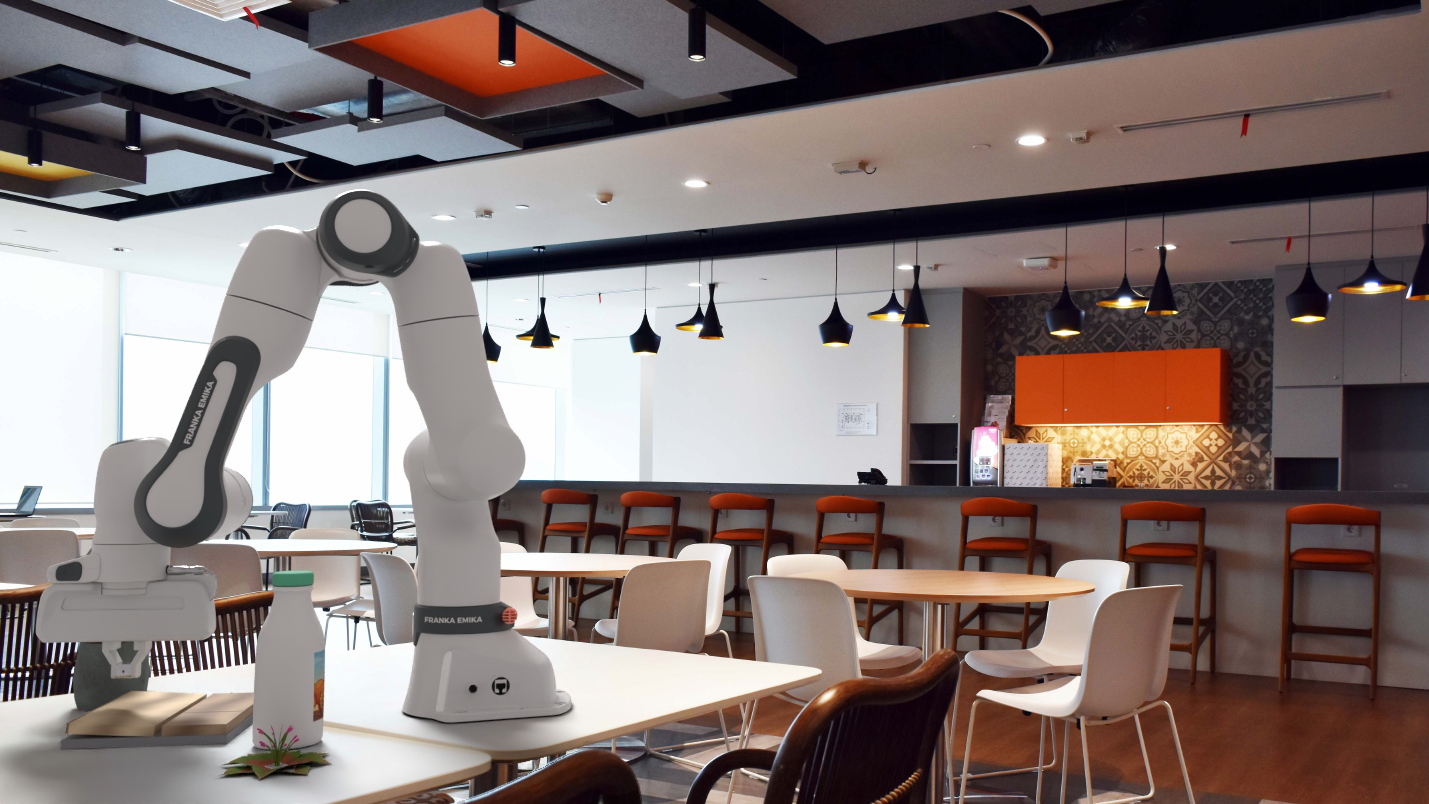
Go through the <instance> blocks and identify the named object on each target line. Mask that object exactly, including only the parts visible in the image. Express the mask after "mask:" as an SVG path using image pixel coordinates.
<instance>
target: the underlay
mask: <svg viewBox="0 0 1429 804" xmlns="http://www.w3.org/2000/svg"><path fill="white" fill-rule="evenodd" d="M250 725H253V714H251V715H250V716H249V717H248V718H246V719H245V720H244V721H243V722H241V723H240V724H239V725H237V726H236V727H235V728H234V729H232V730H231V731H230V732H228V733H227V734H223V735H192V736H162V737H161V735H162V731H161V732H160V733H158V734H157V735H155V736H154V737H144V736H114V735H83V734H69V735H68V736H66V737H64V738H63V739H61V740H60V750H71V749H72V750H73V749H74V750H75V749H78V750H79V749H103V748H104V749H105V748H129V747H130V748H131V747H133V748H134V747H135V748H136V747H158V746H159V747H161V746H163V747H164V746H186V745H187V746H188V745H189V746H191V745H193V746H195V745H196V746H197V745H216V744H217V745H221V744H222V745H223V744H228V743H230V742H231V741H232V740H233V739H234V738H236V737H237V736H238V735H239V734H240V733H242V732H244V731H245V729H246V728H248V727H249V726H250Z"/></svg>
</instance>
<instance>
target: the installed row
mask: <svg viewBox="0 0 1429 804" xmlns="http://www.w3.org/2000/svg"><path fill="white" fill-rule="evenodd" d="M253 702H254V691H253V692H224V693H223V692H221V693H219V692H218V693H212V694H210V695H209V696H207V698H206V699H204V700H202V701H201V702H199V703H198V704H196V705H194V706H193V707H191V708H190V709H188V710H186V711H185V712H183V713H182V714H180V715H179V716H177V717H175V718H174V719H172V720H171V721H169V722H167V723H166V724H164V725H163V726H162V735H161V737H162V736H192V735H223V734H227V733H228V732H230V731H231V730H232V729H234V728H235V727H236V726H237V725H239V724H240V723H241V722H243V721H244V720H245V719H246V718H248V717H249V716H250V715H251V714H253Z"/></svg>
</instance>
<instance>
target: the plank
mask: <svg viewBox="0 0 1429 804" xmlns="http://www.w3.org/2000/svg"><path fill="white" fill-rule="evenodd" d="M207 697H208V693H199V692H195V693H193V692H173V691H172V692H170V691H148V690H147V691H130V692H128V693H126V694H124V695H122V696H120V697H118V698H116V699H114V700H112V701H110V702H108V703H106V704H104V705H102V706H100V707H98V708H96V709H94V710H92V711H90V712H86V713H85V714H81V715H80V716H78V717H76V718H75V719H73V720H70V721H68V722H67V723H66V724H65V733H64V735H72V734H83V735H114V736H144V737H154V736H155V735H157V734H158V733H160V732H161V731H162V726H163V725H164V724H166V723H167V722H169V721H171V720H172V719H174V718H175V717H177V716H179V715H180V714H182V713H183V712H185V711H186V710H188V709H190V708H191V707H193V706H194V705H196V704H198V703H199V702H201V701H202V700H204V699H206V698H207Z"/></svg>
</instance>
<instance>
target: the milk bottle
mask: <svg viewBox="0 0 1429 804" xmlns="http://www.w3.org/2000/svg"><path fill="white" fill-rule="evenodd" d="M314 575H315V574H314V572H313V571H311V570H280V571H275V572H273V573H272V576H271V577H272V578H271V584H272V588H271V590H272V592H273V600H272V604H271V605H270V608H269V612H268V614H267V616H266V618H265V620H264V622H263V624H262V626H261V628H260V631H259V634H258V636H257V640H256V646H255V647H256V648H255V659H254V660H255V661H254V681H253V685H254V686H253V692H254V702H253V723H252V733H251V734H252V736H251V737H252V744H253V746H254V747H255V748H257V749H262V750H269V749H268V748H267V747H262V746H260V745H261V744H260V743H259V741H262V742H264V743H265V744H266V745H268V746H269V747H270V748H271V749H272V748H273V747H271V744H272V742H271V743H270V741H269V739H268V738H267V737H266V736H265V735H264V734H260V733H258V732H259V730H257V728H259V729H261V730H262V731H263V732H265V733H266V734H267V735H268V736H269V737H270V738H271V739H272V740H273V742H274V736H273V735H272V733H273V731H274V734H275V739H276V743H277V750H278V746H279V739H280V741H281V739H282V737H283V735H284V734H285V733H286V731H287V729H288V728H289V727H290V726H291V725H292V726H291V727H292V728H293V730H292V731H290V732H289V733H288V735H287V737H286V740H285V742H284V744H286V743H287V746H288V744H289V743H290V741H291V740H292V739H293V738H294V737H295V736H296V735H297V738H299V741H297V742H295V743H294V744H293V745H292V746H291V747H290V749H289V750H292V749H293V750H294V749H301V748H305V747H309V746H313V745H316V744H318V743H319V742H321V741H322V738H323V735H324V717H325V716H324V714H325V710H324V709H325V678H326V676H325V672H326V671H325V670H326V668H325V667H326V646H325V645H326V643H325V635H324V634H325V633H324V630H323V627H322V624H321V621H320V620H319V617H318V614H317V612H316V610H315V608H314V604H313V600H312V591H313V590H314V581H315V576H314ZM282 725H283V727H282ZM271 726H272V728H273V731H272V728H271ZM281 728H282V730H281ZM280 732H281V736H280ZM297 738H296V739H297ZM296 739H294V740H296ZM294 740H293V741H292V742H291V743H290V745H291V744H292V743H293V742H294ZM281 742H282V741H281ZM272 745H273V744H272ZM290 745H289V746H290ZM280 746H281V743H280ZM280 746H279V749H280ZM283 746H284V745H283ZM287 746H284V747H283V748H282V751H284V750H285V749H286V748H287ZM288 748H289V747H288ZM288 748H287V749H288ZM269 751H270V750H269ZM273 751H275V749H274V748H273Z"/></svg>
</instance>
